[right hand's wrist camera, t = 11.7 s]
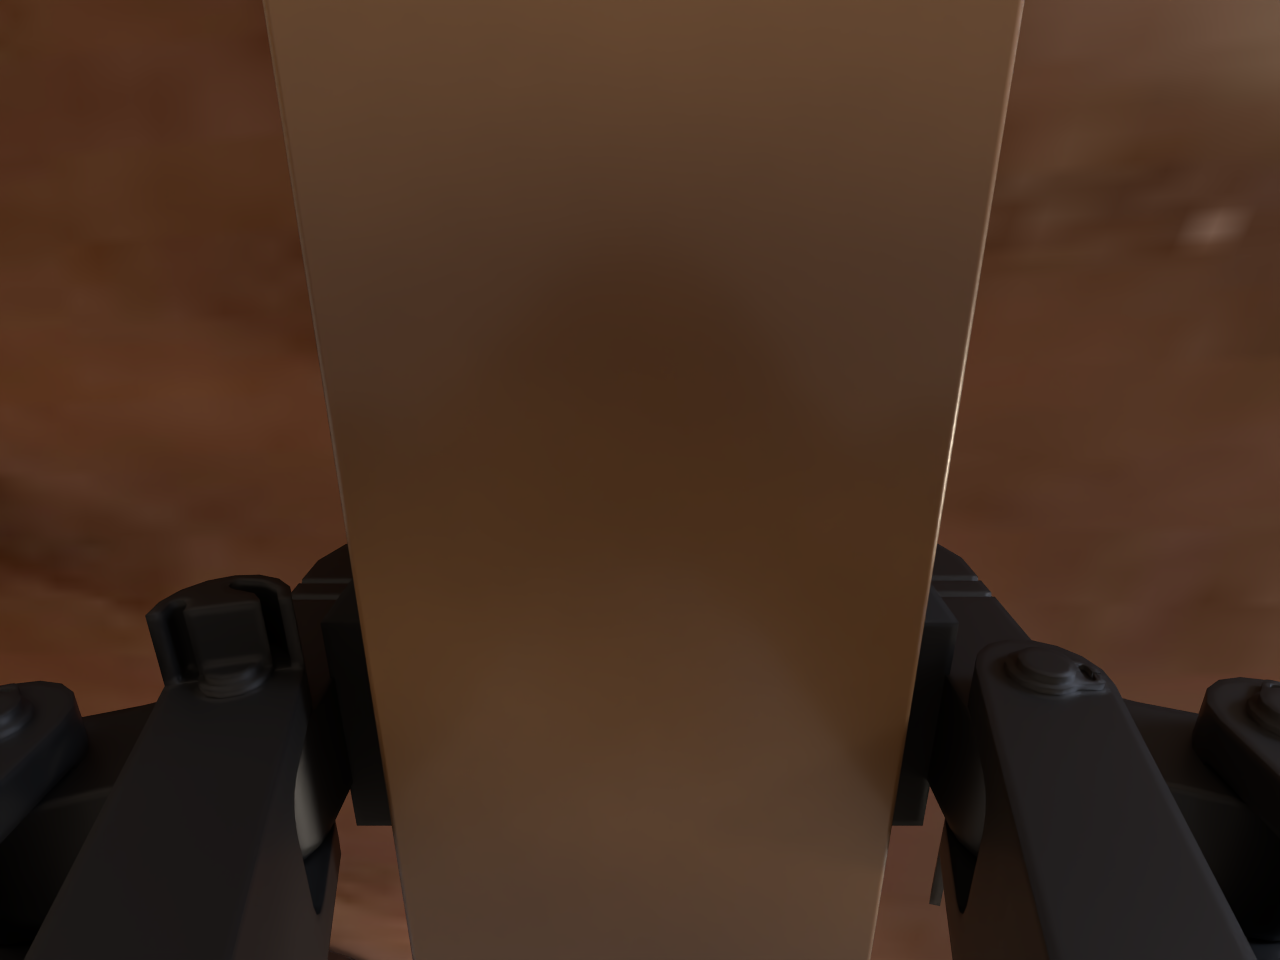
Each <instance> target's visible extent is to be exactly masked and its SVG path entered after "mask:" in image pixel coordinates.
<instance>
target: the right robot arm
mask: <svg viewBox="0 0 1280 960" xmlns="http://www.w3.org/2000/svg"><path fill="white" fill-rule="evenodd" d="M145 617H146V620H147V624H148V627H149V631H150V634H151V638H152V642H153V645H154V649H155V652H156V656H157V660H158V663H159V667H160V670H161V674H162V678H163V681H164V685H165V687H164V689H163V691H162V693H161V695H160V697H159V698H158V700H157V702H155V703H151V704H147V705H143V706H138V707H133V708H127V709H122V710H117V711H112V712H107V713H101V714H96V715H91V716H86V717H81V714H80V711H79V708H78V705H77V702H76V699H75V696H74V693H73V692H72V691H71V690H70V689H68V688H67V687H66V686H64V685H63V684H60V683H53V682H45V681H35V682H26V683H17V684H15V683H13V684H7V685H2V686H0V960H354V959H352V958H349V957H347V956H344V955H341V954H338V953H335V952H332V951H329V944H330V936H331V928H332V921H333V913H334V905H335V897H336V889H337V881H338V873H339V866H340V858H341V850H340V844H339V837H338V832H337V827H336V821H335V819H336V817H337V815H338V813H339V811H340V809H341V807H342V805H343V803H344V800H345V798H346V796H347V794H348V792H349V790H351V796H352V801H353V807H354V812H355V818H356V823H357V826H392V823H391V817H390V810H389V804H388V798H387V791H386V785H385V778H384V772H383V766H382V759H381V753H380V747H379V740H378V734H377V727H376V721H375V715H374V708H373V702H372V696H371V689H370V683H369V676H368V670H367V664H366V657H365V651H364V645H363V638H362V632H361V625H360V619H359V613H358V606H357V600H356V594H355V587H354V581H353V574H352V568H351V562H350V555H349V549H348V544H345V545H344V546H342V547H340V548H339V549H337V550H335V551H333V552H332V553H330V554H328V555H327V556H325V557H323V558H322V559H320V560H318V561H317V563H316V564H315V565H314V566H313V567H312V568H311V570H310V571H309V572H308V573H307V574H306V576H305V577H304V578H303V579H302V583H299V584H298V585H297V586H296V588H295V589H294V590H293V591H292V592H291V589H290V586H288V585H287V584H286V583H284V582H283V581H281V580H280V579H278V578H273V577H268V576H263V575H235V576H230V577H224V578H219V579H214V580H208V581H205V582H202V583H199V584H197V585H194V586H191V587H188V588H185V589H182V590H180V591H178V592H176V593H175V594H173V595H171V596H169V597H167V598H166V599H164V600H162V601H160V602H159V603H158V604H157V605H156V606H155V607H154V608H153V609H152V610H151V611H150V612H149V613H148V614H147V615H146V616H145ZM929 787H931V789H932V791H933V793H934V796H935V798H936V800H937V802H938V804H939V806H940V808H941V810H942V812H943V814H944V817H945V821H944V827H943V832H942V837H941V842H940V847H939V852H938V858H937V863H936V868H935V873H934V878H933V883H932V889H931V896H930V902H929V904H933V905H938V906H940V903H941V898H942V893H943V889H944V895H945V903H946V911H947V919H948V927H949V934H950V942H951V950H952V958H953V960H1280V682H1277V681H1273V680H1261V679H1252V678H1243V677H1238V678H1230V679H1223V680H1218V681H1217V682H1215V683H1214V684H1213V685H1211V686H1210V687H1209V688H1207V690H1206V693H1205V696H1204V699H1203V702H1202V705H1201V708H1200V711H1199V714H1197V713H1192V712H1186V711H1181V710H1176V709H1171V708H1166V707H1160V706H1155V705H1150V704H1145V703H1139V702H1135V701H1131V700H1127V699H1123V698H1122V697H1121V695H1120V693H1119V691H1118V689H1117V687H1116V685H1115V684H1114V683H1113V682H1112V681H1111V679H1110V678H1109V677H1108V676H1107V675H1106V673H1105V672H1104V671H1103V670H1102V669H1100V668H1099V667H1097V666H1096V665H1094V664H1093V663H1091V662H1090V661H1088V660H1087V659H1085V658H1084V657H1082V656H1080V655H1077V654H1075V653H1073V652H1070V651H1068V650H1065V649H1063V648H1060V647H1058V646H1054V645H1050V644H1045V643H1041V642H1036V641H1032V640H1031V639H1030V638H1029V637H1028V636H1027V634H1026V633H1025V632H1024V631H1023V630H1022V629H1021V627H1020V626H1019V625H1018V624H1017V623H1016V621H1015V620H1014V619H1013V618H1012V617H1011V616H1010V614H1009V613H1008V612H1007V611H1006V610H1005V608H1004V607H1003V606H1002V605H1001V604H1000V603H999V601H998V600H997V599H996V598H995V597H991V592H990V591H989V590H988V588H987V587H986V586H985V585H984V584H983V582H982V581H978V577H977V575H976V574H975V573H974V572H973V571H972V569H971V568H970V567H969V566H968V565H967V564H966V562H965V561H964V560H963V559H962V558H961V557H959V556H958V555H956V554H954V553H953V552H951V551H949V550H947V549H946V548H944V547H942V546H941V545H939V544H937V548H936V554H935V560H934V566H933V572H932V579H931V585H930V591H929V597H928V604H927V610H926V616H925V622H924V628H923V635H922V641H921V647H920V653H919V659H918V666H917V672H916V678H915V684H914V691H913V697H912V703H911V709H910V715H909V722H908V728H907V734H906V740H905V747H904V753H903V759H902V765H901V771H900V778H899V784H898V790H897V796H896V803H895V809H894V815H893V821H892V826H923V820H924V815H925V809H926V804H927V798H928V793H929Z"/></svg>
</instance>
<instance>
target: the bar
mask: <svg viewBox="0 0 1280 960" xmlns="http://www.w3.org/2000/svg"><path fill="white" fill-rule="evenodd" d="M262 1H263V7H264V13H265V20H266V26H267V32H268V39H269V45H270V52H271V58H272V64H273V71H274V77H275V83H276V90H277V96H278V103H279V109H280V115H281V122H282V128H283V134H284V141H285V147H286V154H287V160H288V166H289V173H290V179H291V186H292V192H293V198H294V205H295V211H296V217H297V224H298V230H299V237H300V243H301V249H302V256H303V262H304V268H305V275H306V281H307V288H308V294H309V300H310V307H311V313H312V319H313V326H314V332H315V339H316V345H317V351H318V358H319V364H320V370H321V377H322V383H323V390H324V396H325V402H326V409H327V415H328V421H329V428H330V434H331V441H332V447H333V453H334V460H335V466H336V472H337V479H338V485H339V492H340V498H341V504H342V511H343V517H344V523H345V530H346V536H347V543H348V549H349V555H350V562H351V568H352V574H353V581H354V587H355V594H356V600H357V606H358V613H359V619H360V625H361V632H362V638H363V645H364V651H365V657H366V664H367V670H368V676H369V683H370V689H371V696H372V702H373V708H374V715H375V721H376V727H377V734H378V740H379V747H380V753H381V759H382V766H383V772H384V778H385V785H386V791H387V798H388V804H389V810H390V817H391V823H392V829H393V836H394V842H395V849H396V855H397V861H398V868H399V874H400V880H401V887H402V893H403V900H404V906H405V912H406V919H407V925H408V931H409V938H410V944H411V951H412V957H413V960H870V958H871V952H872V946H873V939H874V933H875V927H876V921H877V914H878V908H879V902H880V896H881V890H882V883H883V877H884V871H885V865H886V858H887V852H888V846H889V840H890V834H891V827H892V821H893V815H894V809H895V803H896V796H897V790H898V784H899V778H900V771H901V765H902V759H903V753H904V747H905V740H906V734H907V728H908V722H909V715H910V709H911V703H912V697H913V691H914V684H915V678H916V672H917V666H918V659H919V653H920V647H921V641H922V635H923V628H924V622H925V616H926V610H927V604H928V597H929V591H930V585H931V579H932V572H933V566H934V560H935V554H936V548H937V541H938V535H939V529H940V523H941V516H942V510H943V504H944V498H945V492H946V485H947V479H948V473H949V467H950V461H951V454H952V448H953V442H954V436H955V429H956V423H957V417H958V411H959V405H960V398H961V392H962V386H963V380H964V373H965V367H966V361H967V355H968V349H969V342H970V336H971V330H972V324H973V317H974V311H975V305H976V299H977V293H978V286H979V280H980V274H981V268H982V262H983V255H984V249H985V243H986V237H987V230H988V224H989V218H990V212H991V206H992V199H993V193H994V187H995V181H996V174H997V168H998V162H999V156H1000V150H1001V143H1002V137H1003V131H1004V125H1005V118H1006V112H1007V106H1008V100H1009V94H1010V87H1011V81H1012V75H1013V69H1014V63H1015V56H1016V50H1017V44H1018V38H1019V31H1020V25H1021V19H1022V13H1023V7H1024V0H262Z"/></svg>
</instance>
